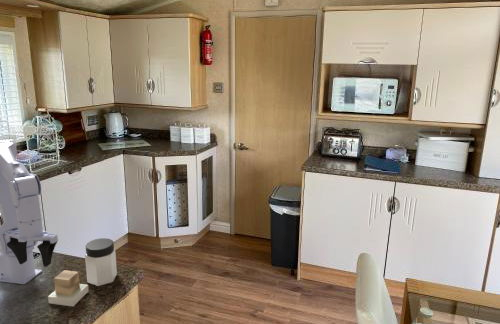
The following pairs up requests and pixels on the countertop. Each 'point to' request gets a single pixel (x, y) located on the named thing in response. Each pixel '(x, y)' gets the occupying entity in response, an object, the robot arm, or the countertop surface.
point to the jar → (100, 261)
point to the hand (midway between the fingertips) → (35, 263)
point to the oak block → (66, 283)
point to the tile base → (68, 297)
